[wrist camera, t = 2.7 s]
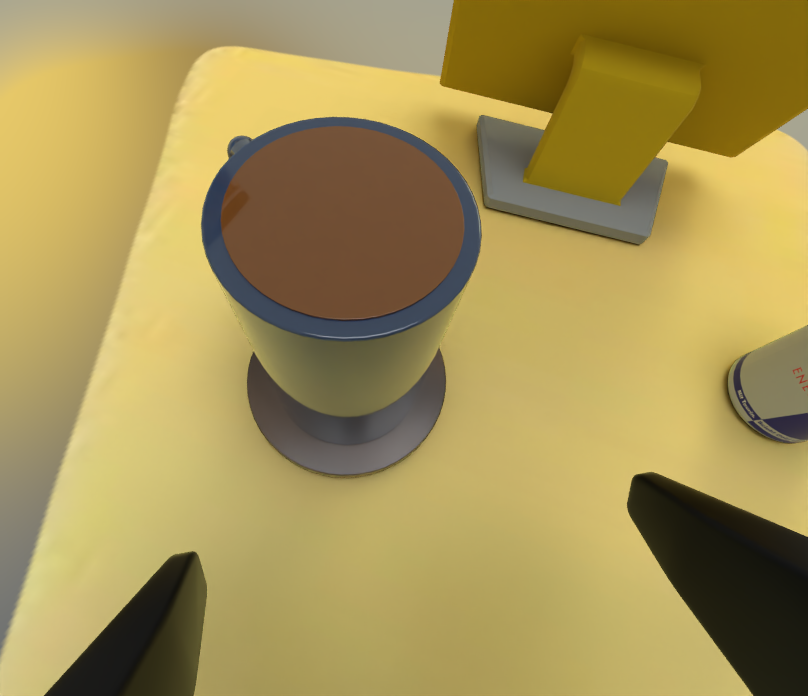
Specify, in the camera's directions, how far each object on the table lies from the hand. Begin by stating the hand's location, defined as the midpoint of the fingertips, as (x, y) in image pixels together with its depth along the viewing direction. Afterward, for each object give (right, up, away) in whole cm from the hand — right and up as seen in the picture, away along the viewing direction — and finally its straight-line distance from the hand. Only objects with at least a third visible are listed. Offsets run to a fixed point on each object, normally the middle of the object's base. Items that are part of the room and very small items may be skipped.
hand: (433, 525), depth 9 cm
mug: (-4, +3, +14) cm, 15 cm away
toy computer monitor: (+11, +15, +22) cm, 28 cm away
